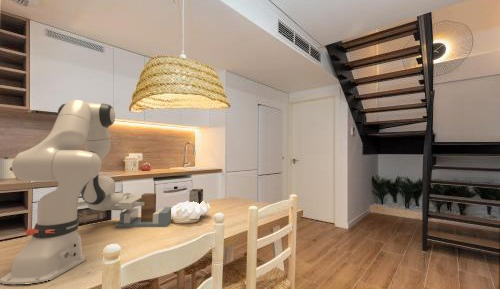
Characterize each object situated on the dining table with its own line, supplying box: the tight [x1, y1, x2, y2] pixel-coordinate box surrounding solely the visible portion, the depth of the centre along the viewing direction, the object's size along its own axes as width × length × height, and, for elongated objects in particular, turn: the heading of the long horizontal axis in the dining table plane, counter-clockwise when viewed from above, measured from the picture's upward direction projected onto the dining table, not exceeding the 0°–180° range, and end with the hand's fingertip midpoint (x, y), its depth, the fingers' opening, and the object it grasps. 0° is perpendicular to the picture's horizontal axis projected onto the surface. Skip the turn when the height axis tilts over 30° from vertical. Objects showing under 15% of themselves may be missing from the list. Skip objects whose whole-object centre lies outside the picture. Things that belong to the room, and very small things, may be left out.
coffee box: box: [188, 188, 204, 204], centre depth 145 cm, size 9×6×16 cm
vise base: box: [115, 206, 173, 228], centre depth 132 cm, size 13×25×7 cm, turn 94°
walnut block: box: [140, 192, 157, 222], centre depth 133 cm, size 5×6×14 cm
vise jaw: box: [119, 207, 139, 223], centre depth 132 cm, size 11×5×5 cm, turn 4°
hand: (147, 201), depth 133 cm, fingers open, 8 cm apart
